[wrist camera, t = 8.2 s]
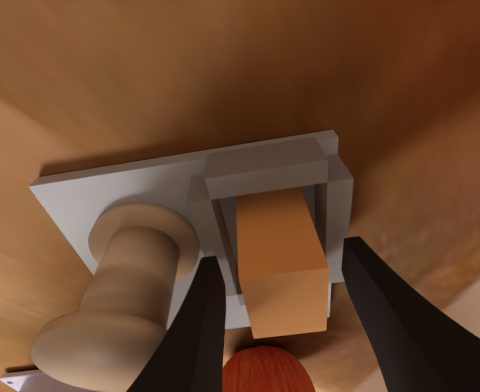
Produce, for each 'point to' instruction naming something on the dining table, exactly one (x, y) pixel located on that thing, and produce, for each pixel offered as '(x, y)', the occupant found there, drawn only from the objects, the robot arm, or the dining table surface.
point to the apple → (265, 372)
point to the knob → (120, 299)
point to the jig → (211, 200)
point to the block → (281, 264)
